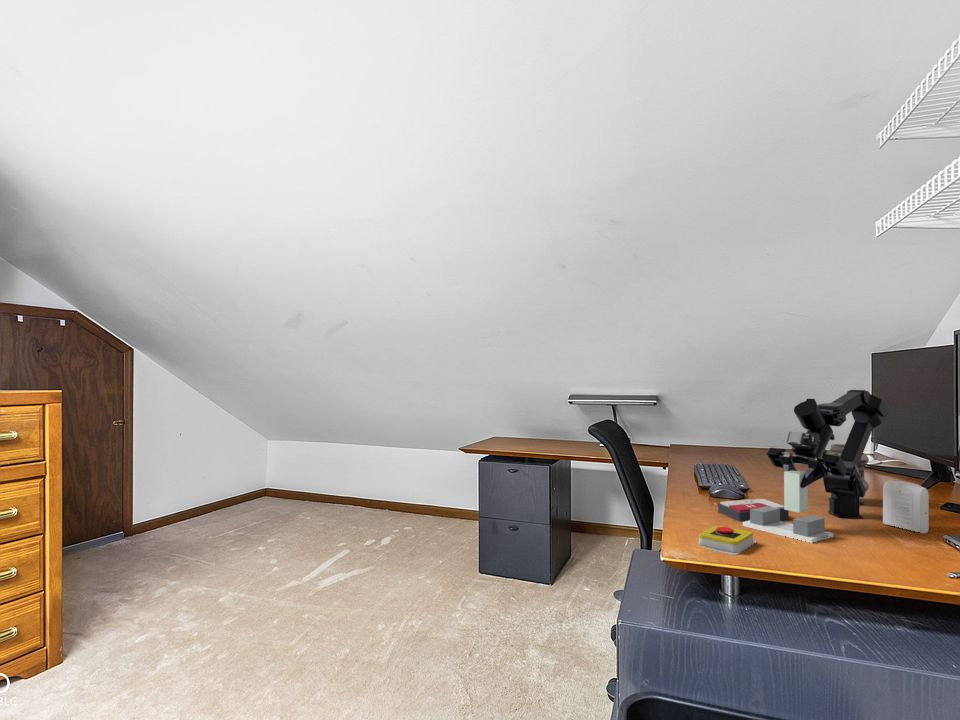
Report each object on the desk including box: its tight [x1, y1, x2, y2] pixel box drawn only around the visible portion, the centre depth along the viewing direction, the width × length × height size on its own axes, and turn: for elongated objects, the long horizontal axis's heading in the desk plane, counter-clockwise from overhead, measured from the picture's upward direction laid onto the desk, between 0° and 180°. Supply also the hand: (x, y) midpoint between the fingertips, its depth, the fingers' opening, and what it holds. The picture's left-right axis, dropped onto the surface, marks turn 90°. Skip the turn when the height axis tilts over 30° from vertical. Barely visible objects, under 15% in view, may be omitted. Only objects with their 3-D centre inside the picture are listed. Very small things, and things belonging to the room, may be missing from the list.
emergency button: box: [698, 525, 757, 556], centre depth 135 cm, size 9×4×15 cm
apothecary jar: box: [826, 443, 870, 506], centre depth 181 cm, size 12×12×18 cm
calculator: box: [717, 498, 790, 523], centre depth 162 cm, size 11×4×15 cm
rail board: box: [742, 506, 834, 544], centre depth 147 cm, size 18×10×4 cm, turn 32°
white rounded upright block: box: [882, 480, 930, 534], centre depth 150 cm, size 10×4×12 cm, turn 23°
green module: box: [783, 470, 809, 514], centre depth 149 cm, size 4×4×10 cm
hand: (792, 485), depth 149 cm, fingers closed on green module, 4 cm apart
